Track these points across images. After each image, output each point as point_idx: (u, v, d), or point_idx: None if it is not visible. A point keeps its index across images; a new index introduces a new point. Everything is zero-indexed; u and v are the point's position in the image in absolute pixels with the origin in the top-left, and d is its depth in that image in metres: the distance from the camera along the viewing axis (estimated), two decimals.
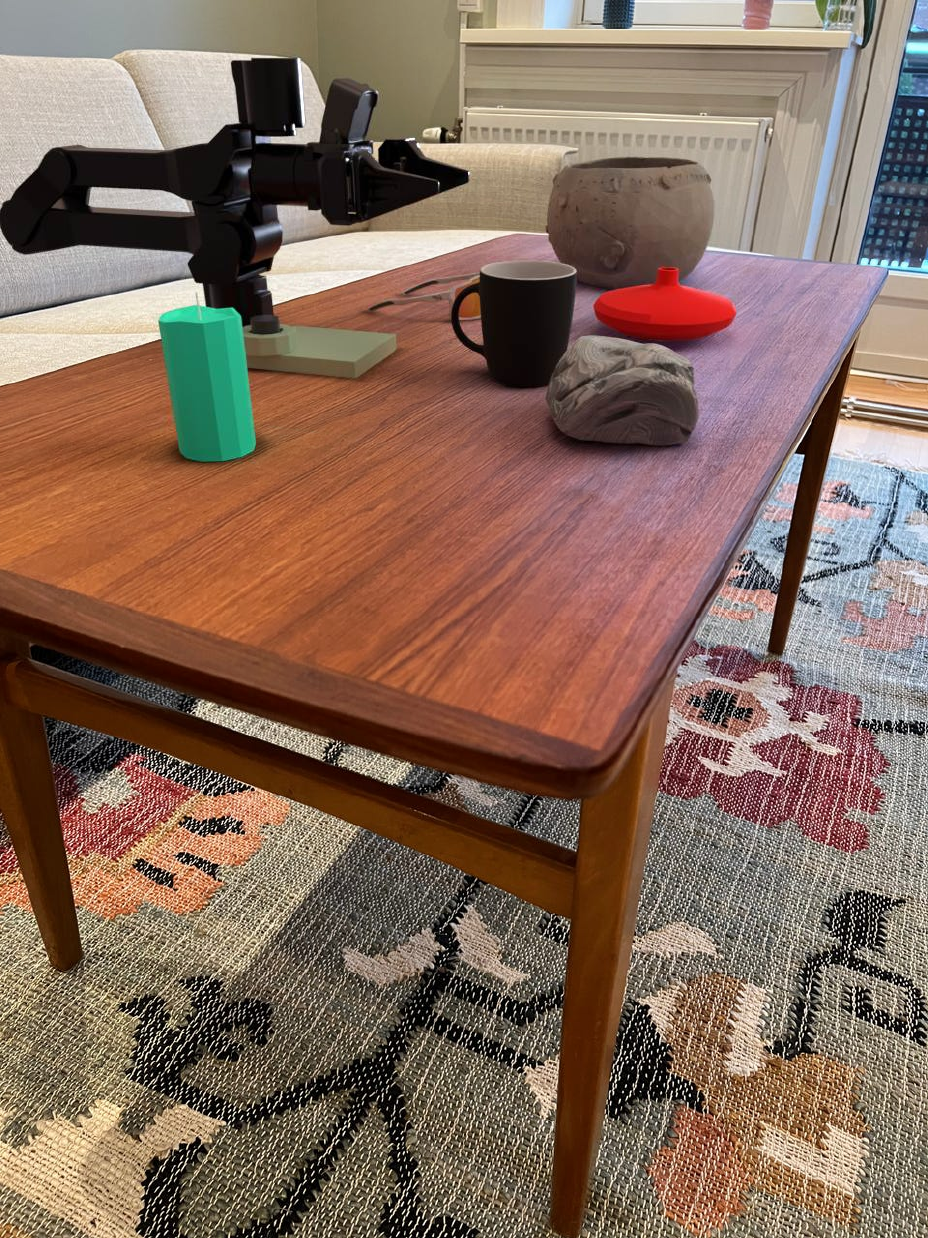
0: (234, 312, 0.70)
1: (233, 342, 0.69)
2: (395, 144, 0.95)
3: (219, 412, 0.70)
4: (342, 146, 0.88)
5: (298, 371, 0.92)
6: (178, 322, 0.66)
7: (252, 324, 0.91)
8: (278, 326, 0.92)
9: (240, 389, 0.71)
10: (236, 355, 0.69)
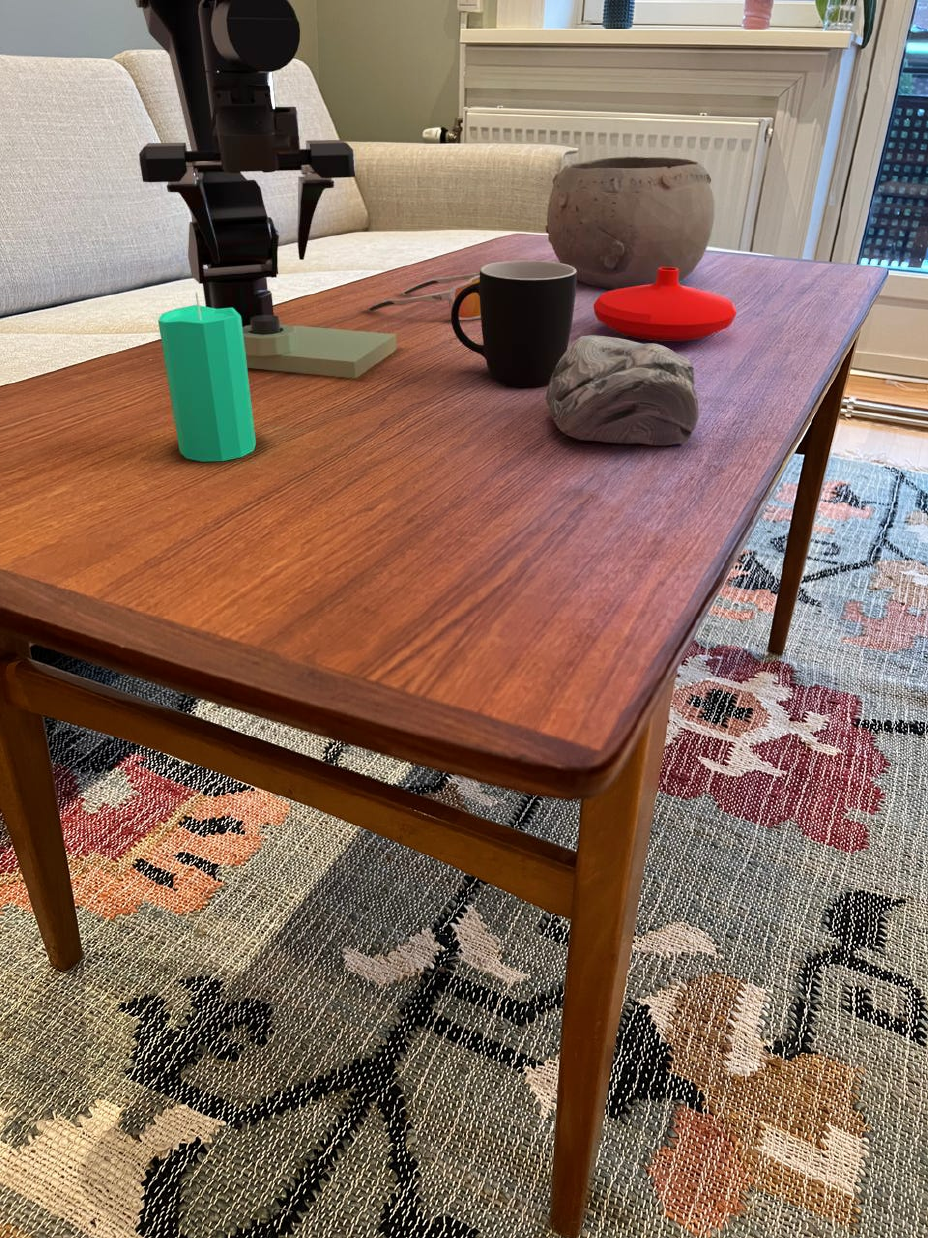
0: (234, 312, 0.70)
1: (233, 342, 0.69)
2: (311, 168, 0.84)
3: (219, 412, 0.70)
4: (213, 144, 0.81)
5: (298, 371, 0.92)
6: (178, 322, 0.66)
7: (252, 324, 0.91)
8: (278, 326, 0.92)
9: (240, 389, 0.71)
10: (236, 355, 0.69)
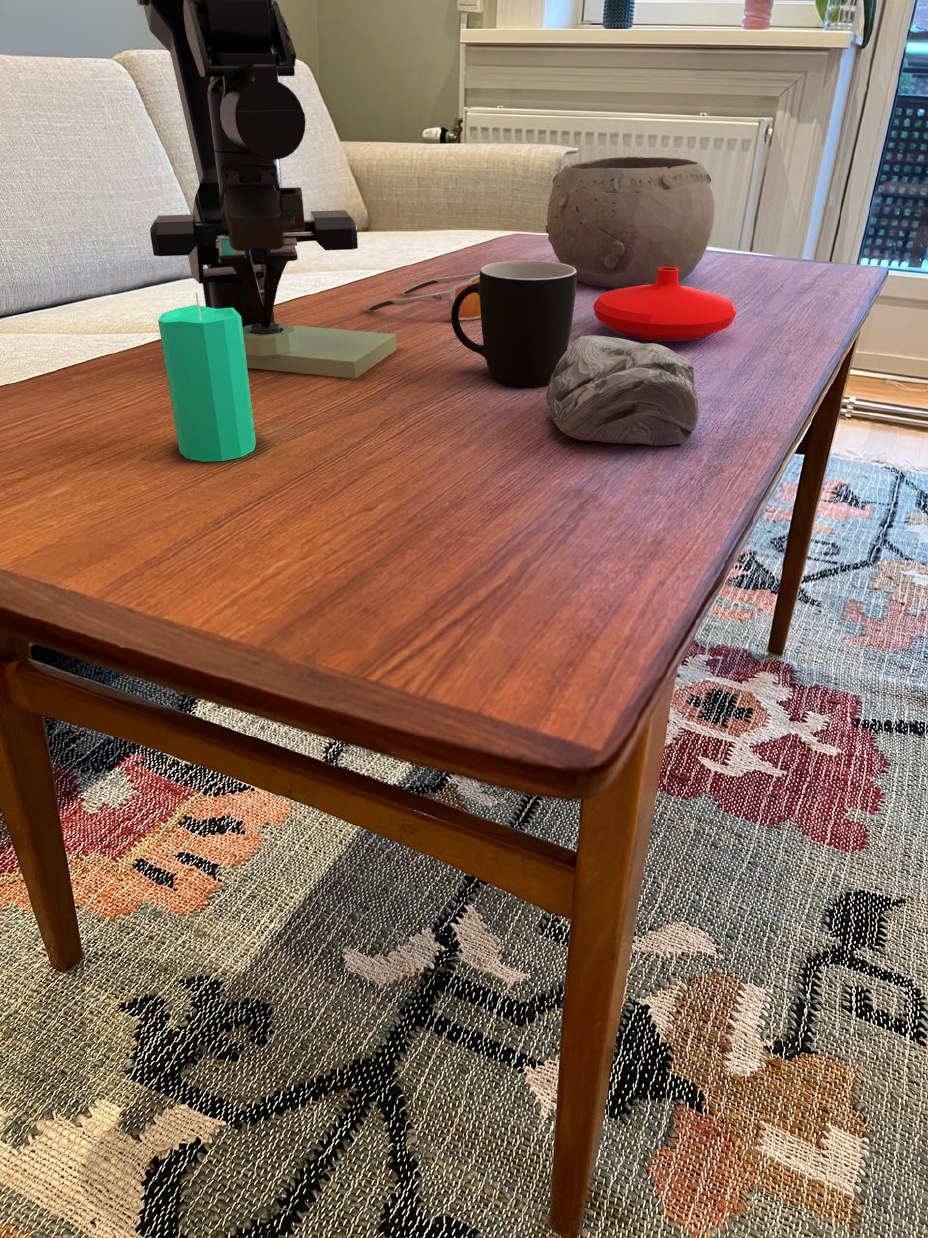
0: (234, 312, 0.70)
1: (233, 342, 0.69)
2: (316, 240, 0.87)
3: (219, 412, 0.70)
4: (221, 220, 0.84)
5: (298, 371, 0.92)
6: (178, 322, 0.66)
7: (253, 332, 0.92)
8: None
9: (240, 389, 0.71)
10: (236, 355, 0.69)
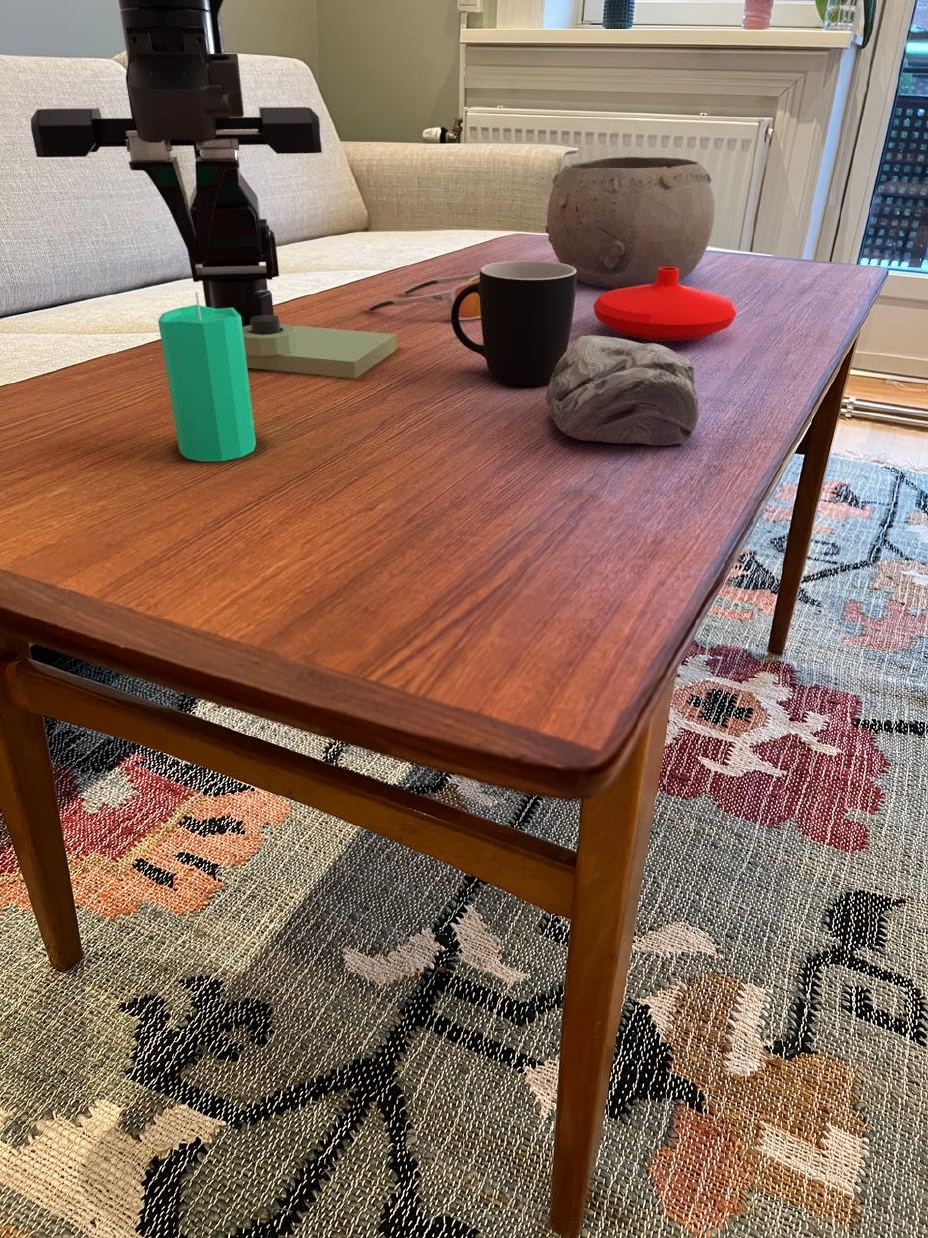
0: (234, 312, 0.70)
1: (233, 342, 0.69)
2: None
3: (219, 412, 0.70)
4: (130, 106, 0.60)
5: (298, 371, 0.92)
6: (178, 322, 0.66)
7: (252, 324, 0.91)
8: (278, 326, 0.92)
9: (240, 389, 0.71)
10: (236, 355, 0.69)
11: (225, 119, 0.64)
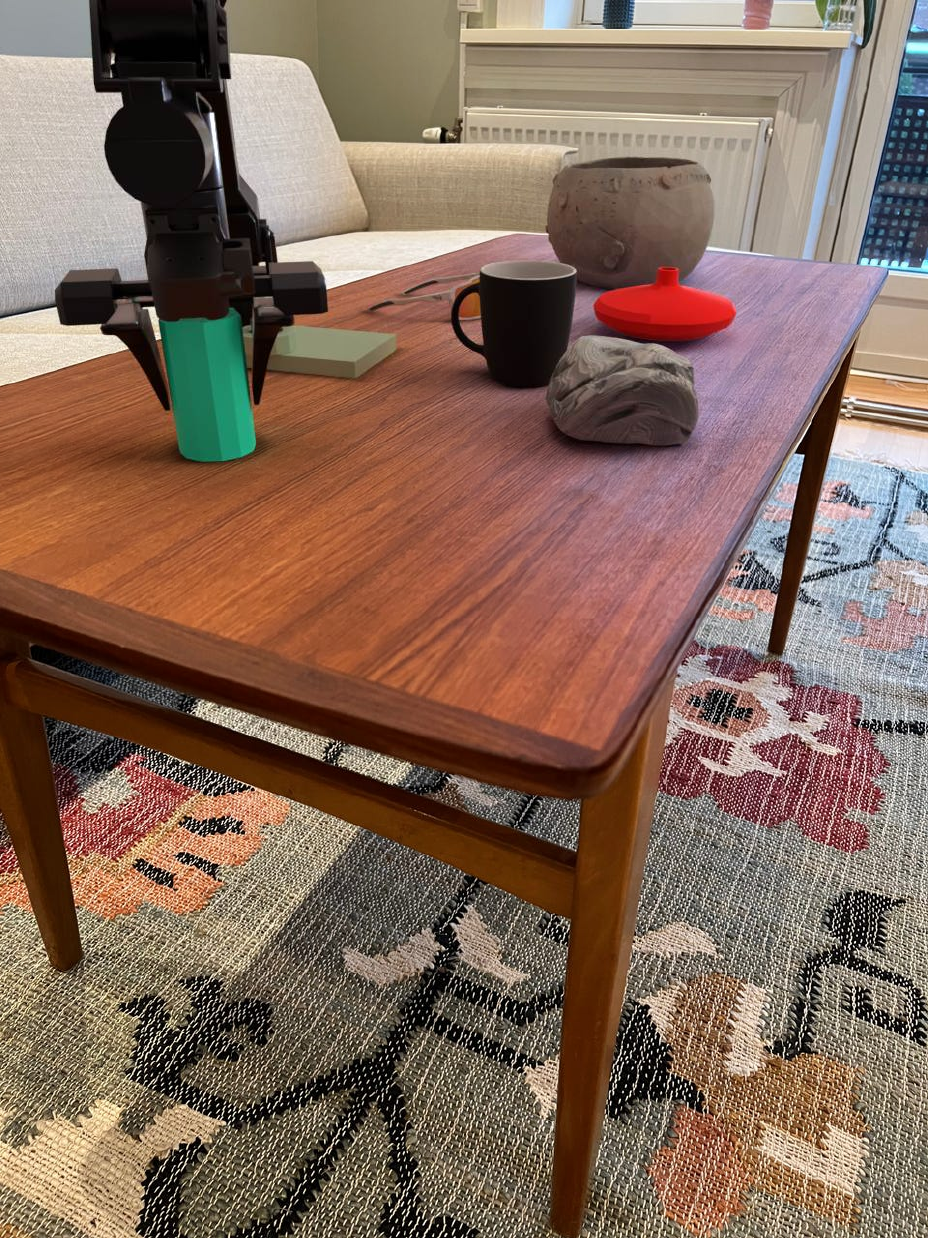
0: (234, 312, 0.70)
1: (233, 342, 0.69)
2: (273, 303, 0.67)
3: (219, 412, 0.70)
4: (148, 278, 0.64)
5: (298, 371, 0.92)
6: (178, 322, 0.66)
7: (252, 324, 0.91)
8: None
9: (240, 389, 0.71)
10: (236, 355, 0.69)
11: None
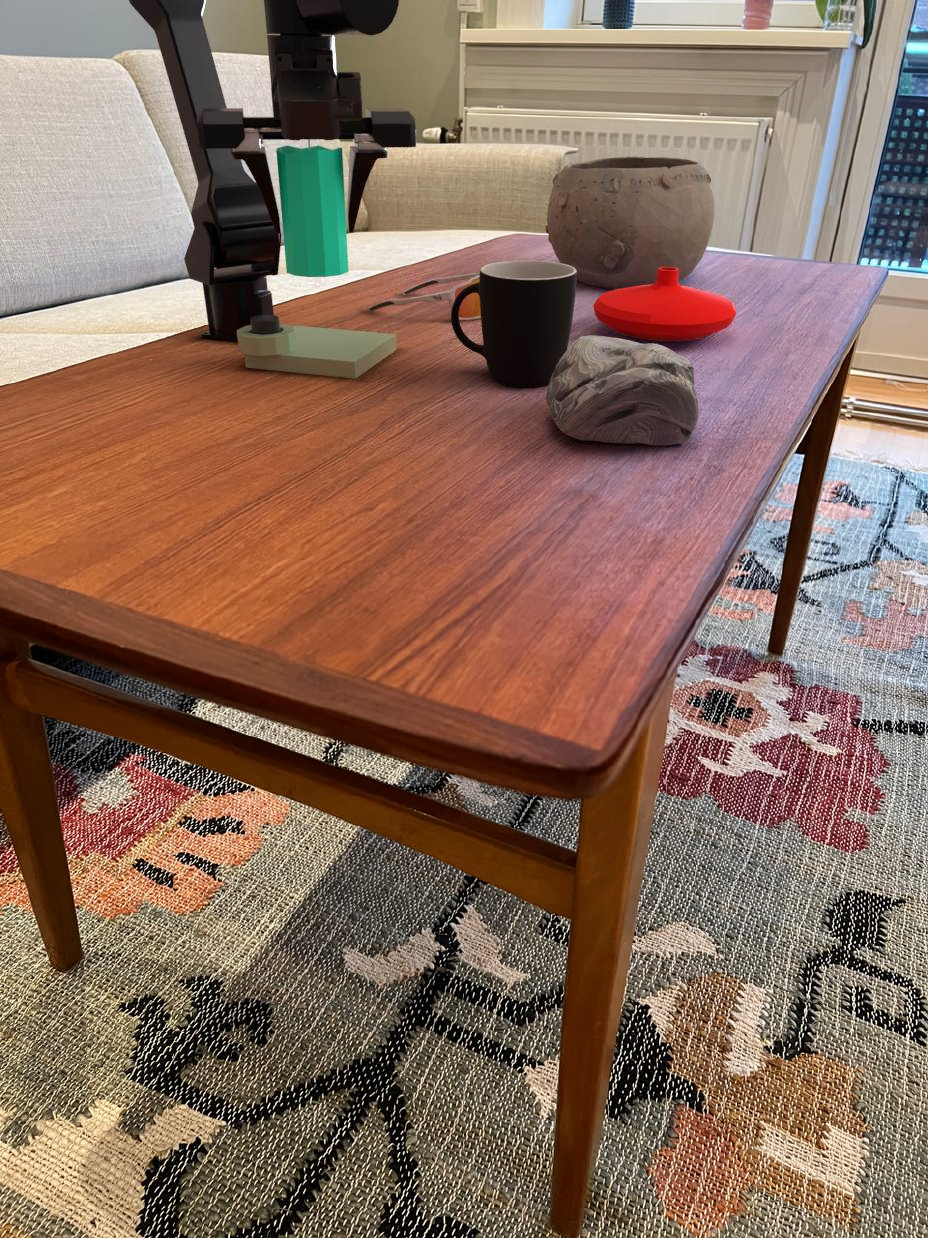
0: (325, 148, 0.85)
1: None
2: (372, 136, 0.81)
3: (339, 230, 0.85)
4: None
5: (298, 371, 0.92)
6: (315, 150, 0.81)
7: (252, 324, 0.91)
8: (278, 326, 0.92)
9: None
10: None
11: None
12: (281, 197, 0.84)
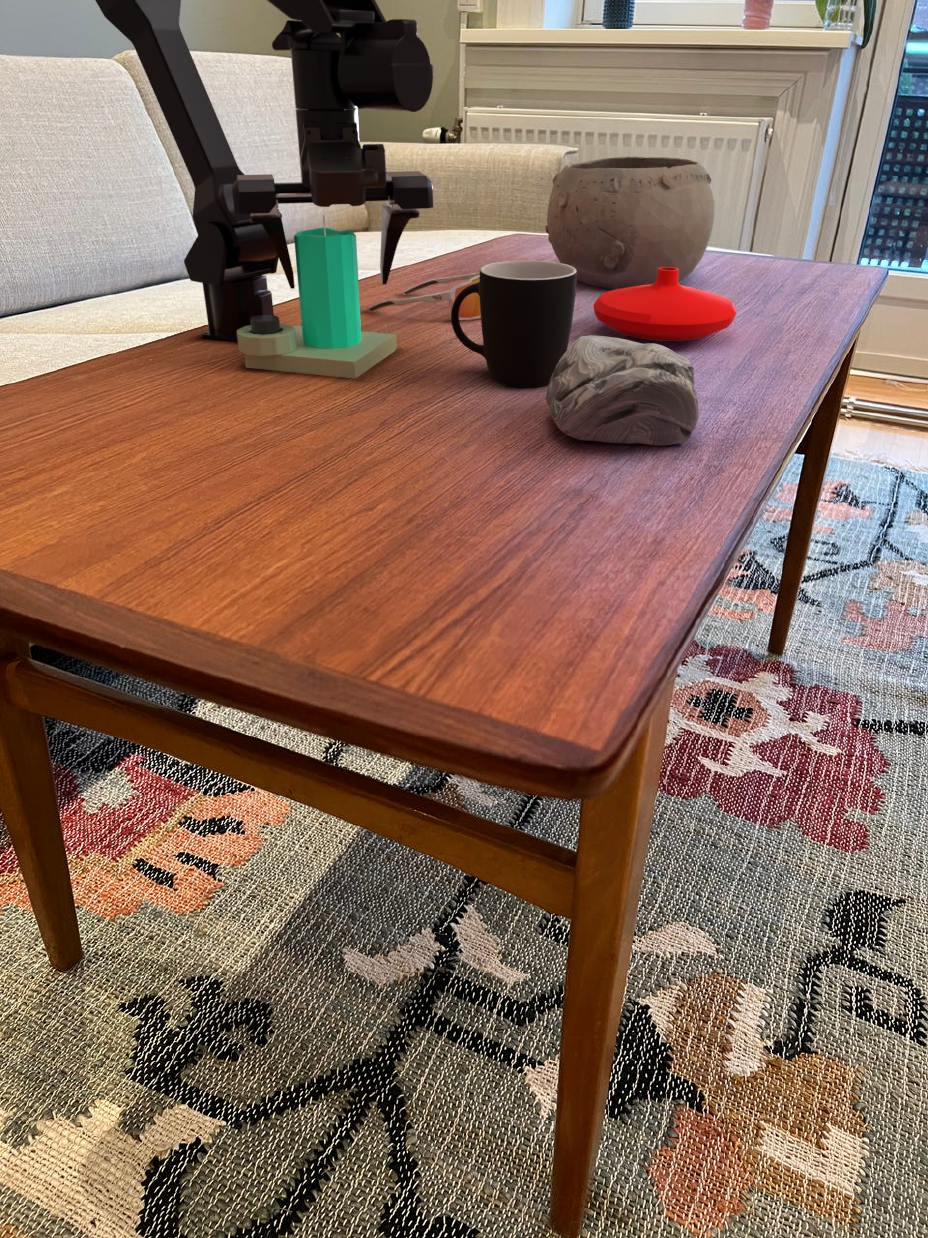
0: (351, 233, 0.91)
1: (347, 254, 0.90)
2: (393, 199, 0.88)
3: (333, 308, 0.91)
4: (302, 177, 0.85)
5: (298, 371, 0.92)
6: (307, 236, 0.88)
7: (252, 324, 0.91)
8: (278, 326, 0.92)
9: (350, 292, 0.92)
10: (349, 265, 0.90)
11: None
12: None
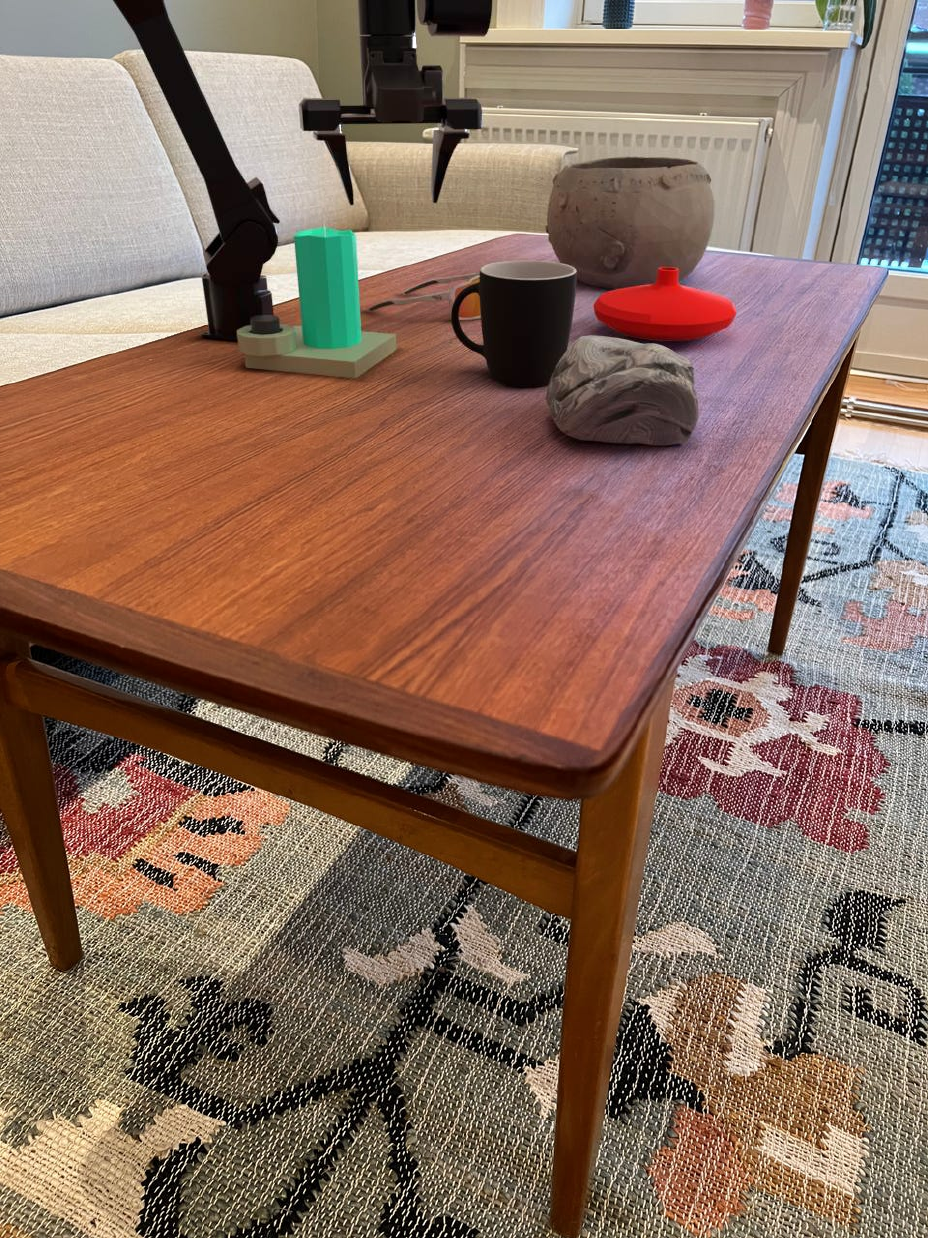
0: (351, 233, 0.91)
1: (347, 254, 0.90)
2: (446, 120, 0.97)
3: (333, 308, 0.91)
4: (365, 98, 0.94)
5: (298, 371, 0.92)
6: (307, 236, 0.88)
7: (252, 324, 0.91)
8: (278, 326, 0.92)
9: (350, 292, 0.92)
10: (349, 265, 0.90)
11: None
12: None
